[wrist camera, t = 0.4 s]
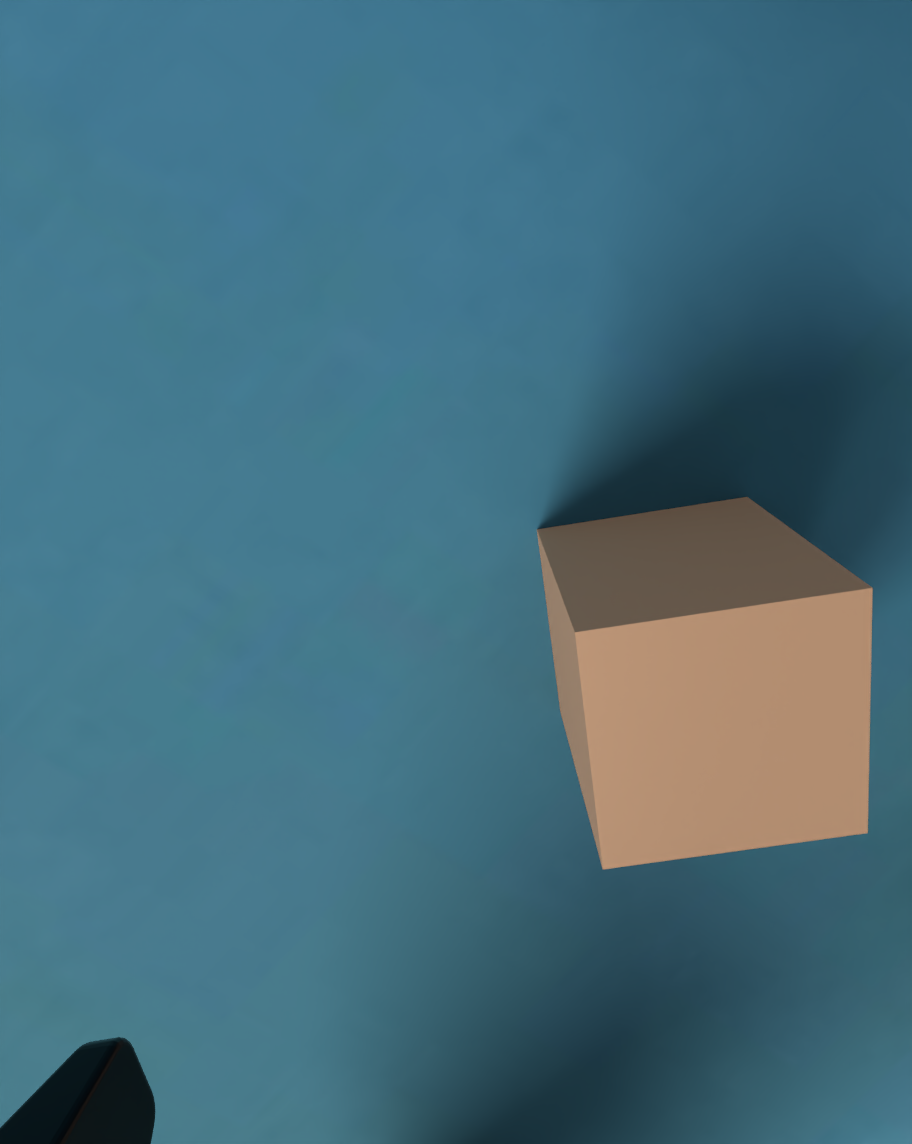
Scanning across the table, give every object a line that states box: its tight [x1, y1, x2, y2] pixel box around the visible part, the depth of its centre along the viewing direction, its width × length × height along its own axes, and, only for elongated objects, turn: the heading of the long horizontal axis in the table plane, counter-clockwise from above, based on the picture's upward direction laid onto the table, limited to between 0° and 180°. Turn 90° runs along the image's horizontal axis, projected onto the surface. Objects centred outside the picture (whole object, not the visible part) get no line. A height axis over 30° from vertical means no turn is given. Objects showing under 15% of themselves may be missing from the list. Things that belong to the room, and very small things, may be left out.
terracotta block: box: [537, 497, 873, 869], centre depth 17 cm, size 5×5×6 cm
